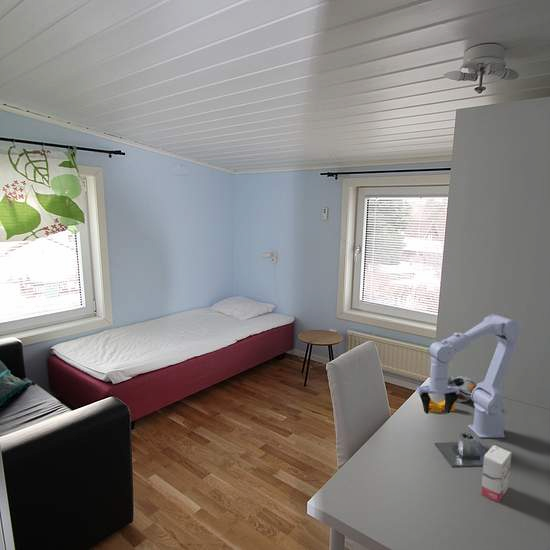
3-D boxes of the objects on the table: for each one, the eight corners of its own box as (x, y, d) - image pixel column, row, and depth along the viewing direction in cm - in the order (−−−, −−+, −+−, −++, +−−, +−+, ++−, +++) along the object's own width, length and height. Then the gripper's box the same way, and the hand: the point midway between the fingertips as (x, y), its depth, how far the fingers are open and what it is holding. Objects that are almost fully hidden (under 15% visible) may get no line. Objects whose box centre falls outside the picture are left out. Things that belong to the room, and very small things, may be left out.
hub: (467, 444, 127) (468, 431, 127) (477, 453, 123) (479, 439, 122) (455, 447, 126) (456, 433, 125) (465, 455, 122) (466, 441, 121)
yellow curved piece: (425, 412, 153) (426, 397, 152) (422, 406, 157) (423, 392, 156) (455, 413, 151) (457, 399, 150) (452, 408, 155) (453, 394, 155)
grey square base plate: (479, 443, 131) (480, 428, 130) (500, 465, 119) (502, 449, 118) (434, 444, 130) (435, 429, 129) (451, 466, 118) (452, 450, 118)
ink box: (498, 503, 103) (502, 464, 101) (479, 493, 107) (482, 456, 105) (508, 488, 109) (512, 451, 107) (490, 479, 112) (493, 444, 111)
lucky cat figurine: (477, 394, 167) (489, 375, 159) (472, 414, 159) (484, 395, 151) (443, 379, 174) (453, 359, 165) (437, 397, 165) (446, 378, 157)
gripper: (453, 371, 135) (450, 406, 137) (414, 372, 135) (412, 406, 137) (463, 379, 128) (460, 416, 130) (422, 380, 128) (420, 416, 130)
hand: (436, 412), depth 133 cm, fingers open, 7 cm apart
